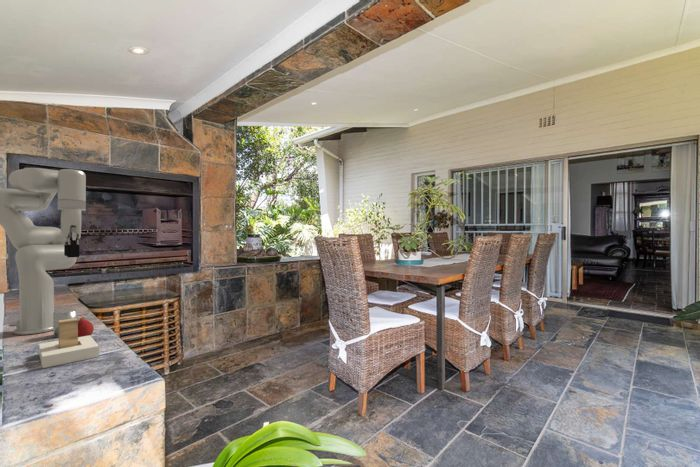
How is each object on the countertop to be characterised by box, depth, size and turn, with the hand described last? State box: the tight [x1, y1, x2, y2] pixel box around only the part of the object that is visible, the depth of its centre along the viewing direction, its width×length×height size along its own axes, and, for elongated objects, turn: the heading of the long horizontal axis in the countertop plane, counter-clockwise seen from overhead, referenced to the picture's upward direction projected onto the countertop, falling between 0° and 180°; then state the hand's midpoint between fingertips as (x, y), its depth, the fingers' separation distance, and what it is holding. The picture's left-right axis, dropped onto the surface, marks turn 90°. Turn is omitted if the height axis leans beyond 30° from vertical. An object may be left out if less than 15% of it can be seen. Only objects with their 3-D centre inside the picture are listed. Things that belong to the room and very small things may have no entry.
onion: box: [78, 316, 95, 337], centre depth 114 cm, size 6×6×8 cm
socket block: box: [38, 335, 100, 369], centre depth 100 cm, size 16×12×3 cm
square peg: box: [58, 318, 79, 349], centre depth 100 cm, size 4×4×10 cm
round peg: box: [53, 309, 79, 338], centre depth 123 cm, size 7×7×8 cm
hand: (71, 256), depth 119 cm, fingers open, 9 cm apart
